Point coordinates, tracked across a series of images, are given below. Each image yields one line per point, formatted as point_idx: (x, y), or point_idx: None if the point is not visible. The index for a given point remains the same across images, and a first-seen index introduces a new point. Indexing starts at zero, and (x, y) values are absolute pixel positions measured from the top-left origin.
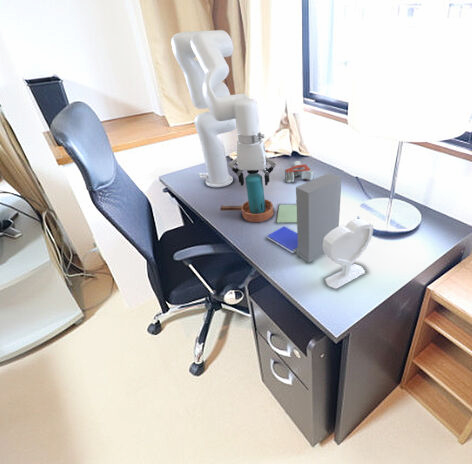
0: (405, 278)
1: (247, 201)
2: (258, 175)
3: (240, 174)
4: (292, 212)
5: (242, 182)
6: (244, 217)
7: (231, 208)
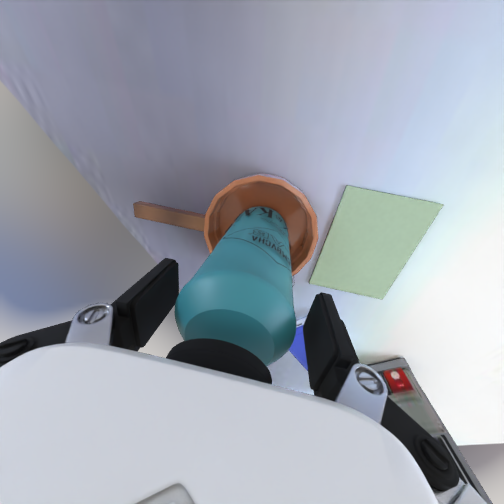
0: (460, 444)
1: (222, 192)
2: (267, 359)
3: (124, 345)
4: (374, 247)
5: (169, 310)
6: None
7: (172, 223)
